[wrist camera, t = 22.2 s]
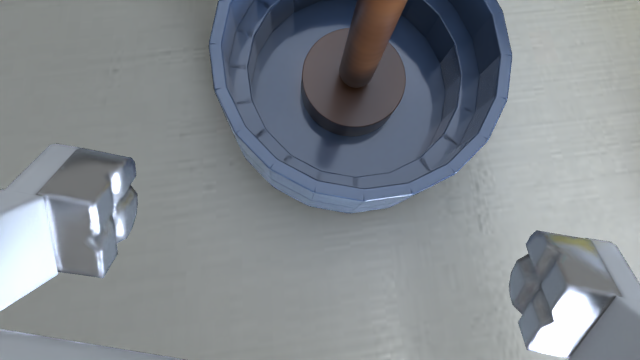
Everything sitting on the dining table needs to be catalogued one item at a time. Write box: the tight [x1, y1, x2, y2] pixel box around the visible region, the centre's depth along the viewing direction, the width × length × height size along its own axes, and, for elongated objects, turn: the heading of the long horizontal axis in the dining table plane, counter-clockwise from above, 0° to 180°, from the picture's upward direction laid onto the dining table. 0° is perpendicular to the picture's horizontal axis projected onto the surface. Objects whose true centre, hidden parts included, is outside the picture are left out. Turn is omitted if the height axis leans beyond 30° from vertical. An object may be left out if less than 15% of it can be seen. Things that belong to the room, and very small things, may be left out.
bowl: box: [209, 0, 512, 213], centre depth 26 cm, size 14×14×6 cm
